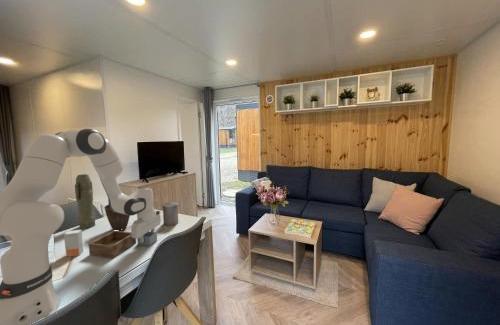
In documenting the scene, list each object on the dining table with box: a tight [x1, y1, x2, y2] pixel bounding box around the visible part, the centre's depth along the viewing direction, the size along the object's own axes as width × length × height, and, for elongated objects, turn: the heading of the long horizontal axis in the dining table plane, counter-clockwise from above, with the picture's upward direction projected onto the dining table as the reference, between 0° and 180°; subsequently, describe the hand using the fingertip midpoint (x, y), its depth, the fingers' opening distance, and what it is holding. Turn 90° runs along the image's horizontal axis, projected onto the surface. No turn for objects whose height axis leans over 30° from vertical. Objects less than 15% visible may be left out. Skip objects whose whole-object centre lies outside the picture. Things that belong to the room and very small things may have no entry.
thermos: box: [74, 173, 96, 230], centre depth 145 cm, size 9×12×35 cm
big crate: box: [88, 230, 137, 259], centre depth 117 cm, size 16×14×6 cm
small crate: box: [137, 231, 158, 247], centre depth 124 cm, size 6×8×5 cm
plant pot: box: [103, 204, 131, 231], centre depth 142 cm, size 15×15×16 cm
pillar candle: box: [162, 201, 179, 227], centre depth 151 cm, size 10×10×15 cm
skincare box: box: [63, 229, 84, 257], centre depth 112 cm, size 6×4×12 cm
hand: (147, 238), depth 124 cm, fingers closed on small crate, 6 cm apart
